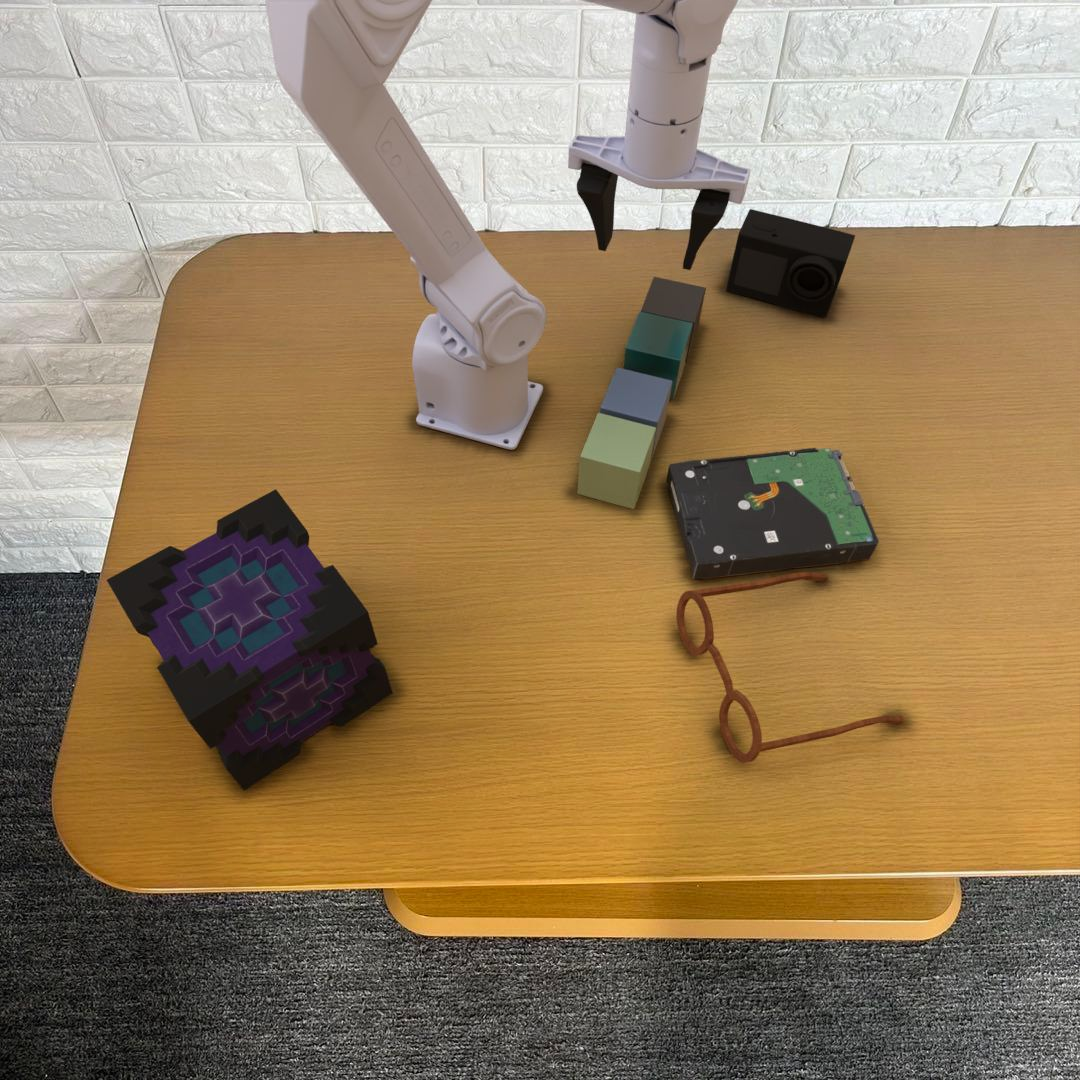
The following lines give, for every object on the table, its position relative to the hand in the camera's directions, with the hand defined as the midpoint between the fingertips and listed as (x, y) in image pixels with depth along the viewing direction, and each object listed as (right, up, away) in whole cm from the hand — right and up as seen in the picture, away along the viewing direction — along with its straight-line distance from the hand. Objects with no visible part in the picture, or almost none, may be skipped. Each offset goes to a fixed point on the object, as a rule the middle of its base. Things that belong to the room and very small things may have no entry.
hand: (646, 253), depth 79 cm
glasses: (+9, -35, -12) cm, 38 cm away
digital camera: (+15, -1, +11) cm, 18 cm away
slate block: (-1, -16, +1) cm, 16 cm away
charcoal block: (+3, -6, +7) cm, 10 cm away
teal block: (+1, -10, +5) cm, 11 cm away
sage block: (-3, -20, -2) cm, 21 cm away
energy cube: (-29, -36, -13) cm, 47 cm away
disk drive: (+9, -24, -5) cm, 26 cm away
